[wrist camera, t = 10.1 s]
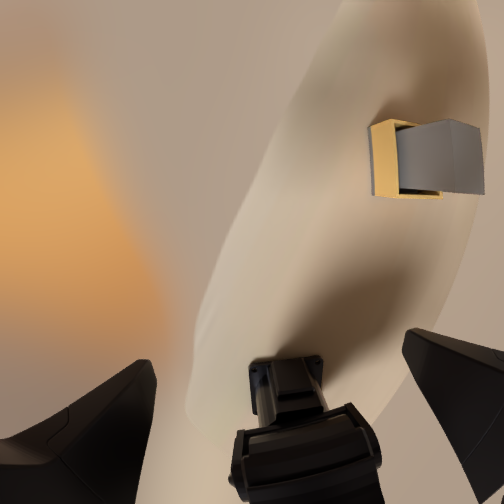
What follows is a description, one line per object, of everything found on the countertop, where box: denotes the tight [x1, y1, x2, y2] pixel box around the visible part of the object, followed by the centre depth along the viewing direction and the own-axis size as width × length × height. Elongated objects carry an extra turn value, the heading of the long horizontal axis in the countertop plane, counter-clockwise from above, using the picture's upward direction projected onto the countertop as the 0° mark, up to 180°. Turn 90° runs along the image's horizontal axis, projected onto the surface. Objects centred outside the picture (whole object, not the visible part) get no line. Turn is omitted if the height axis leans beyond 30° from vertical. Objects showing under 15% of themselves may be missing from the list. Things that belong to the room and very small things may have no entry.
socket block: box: [368, 119, 443, 199], centre depth 17 cm, size 5×5×4 cm
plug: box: [395, 119, 484, 195], centre depth 14 cm, size 4×3×8 cm
